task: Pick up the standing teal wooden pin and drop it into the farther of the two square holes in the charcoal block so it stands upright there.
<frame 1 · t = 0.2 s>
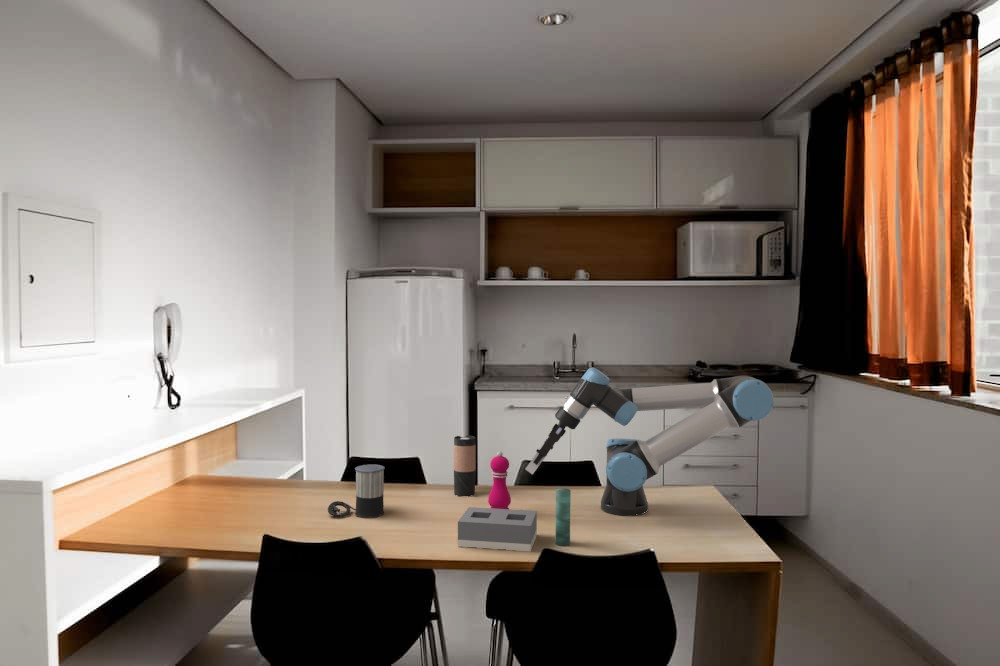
hand: (531, 467, 218), 16 cm above the table, tool tilted 35°, fingers open, 13 cm apart
milk frother: (356, 515, 220), on the table
pepper mill: (499, 514, 221), on the table
pin: (562, 543, 194), on the table
hole block: (498, 540, 196), on the table
travel mug: (464, 494, 245), on the table
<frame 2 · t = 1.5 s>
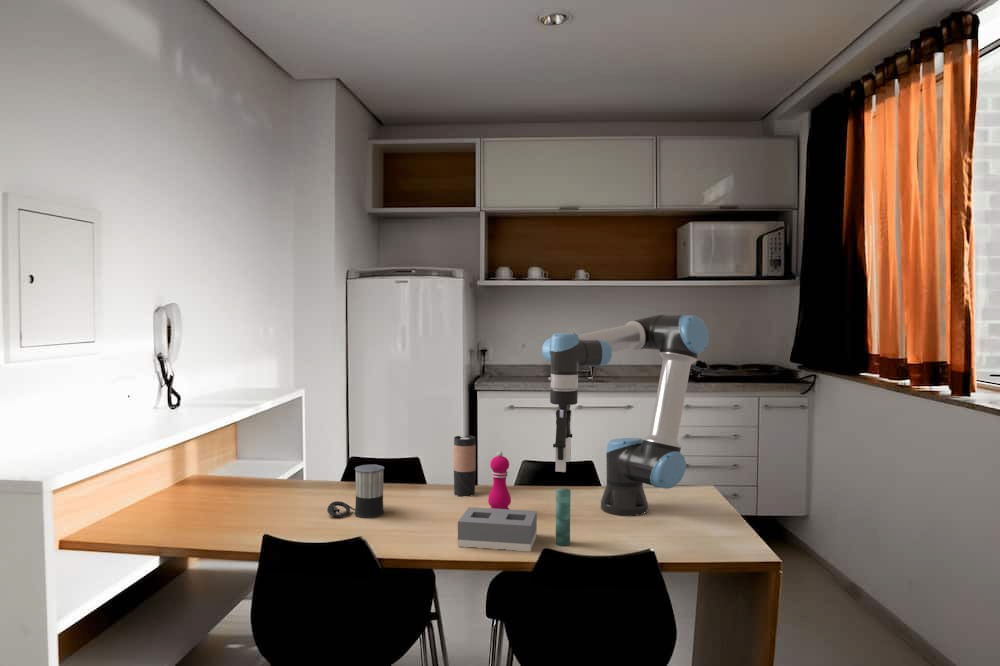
hand: (562, 466, 193), 22 cm above the table, tool pointing down, fingers open, 13 cm apart
nothing on the table moved.
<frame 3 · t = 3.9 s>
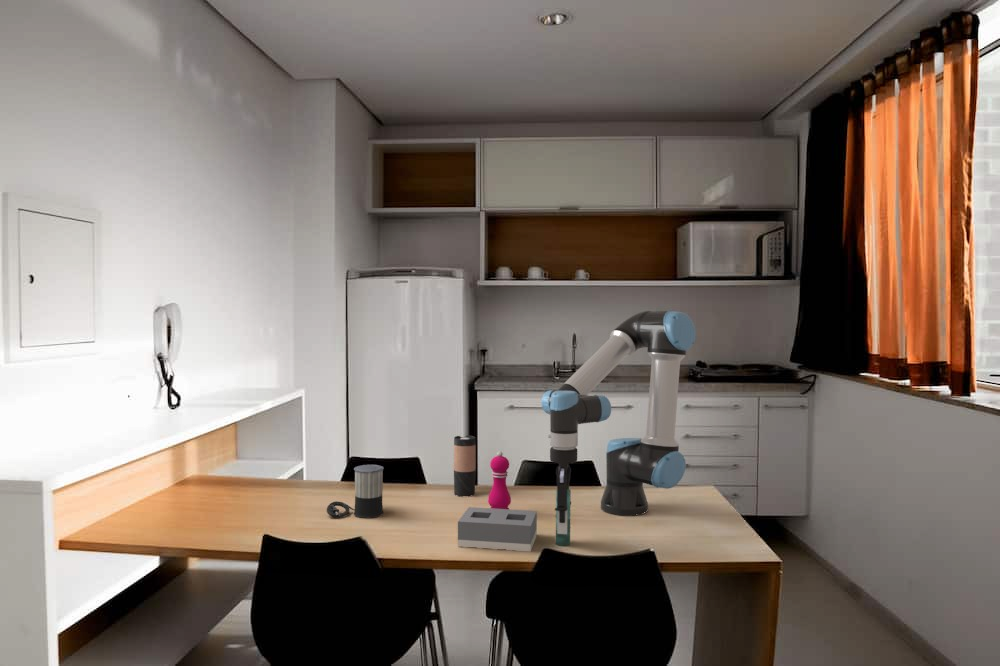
hand: (562, 530, 194), 4 cm above the table, tool pointing down, fingers closed on pin, 4 cm apart
pin: (562, 543, 194), on the table, touching gripper
everything else where it was.
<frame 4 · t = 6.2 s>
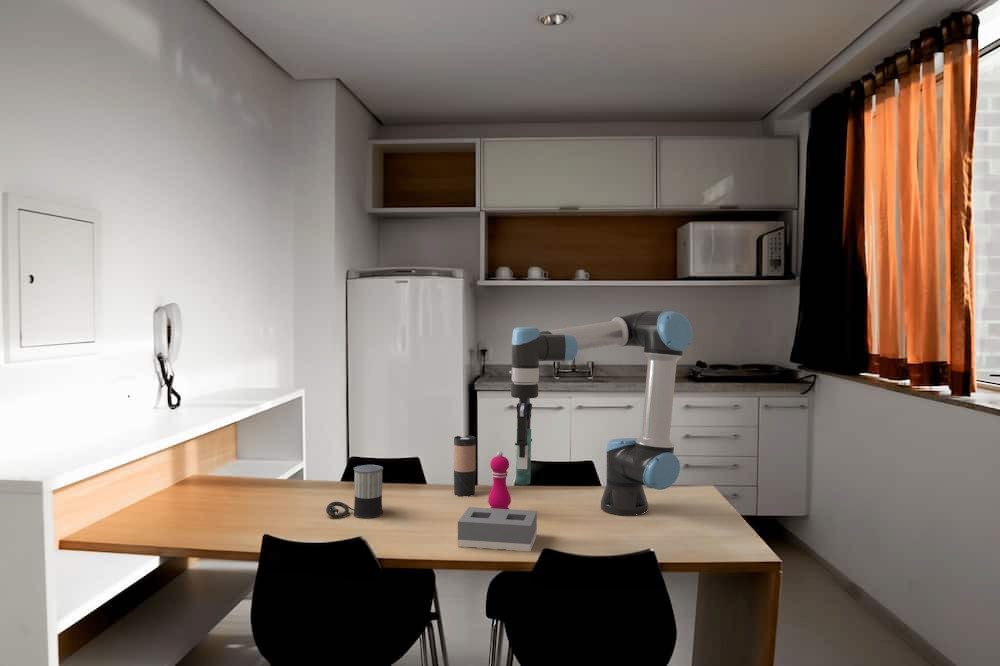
hand: (523, 466, 194), 21 cm above the table, tool pointing down, fingers closed on pin, 4 cm apart
pin: (523, 482, 194), point 17 cm above the table, touching gripper
everything else where it was.
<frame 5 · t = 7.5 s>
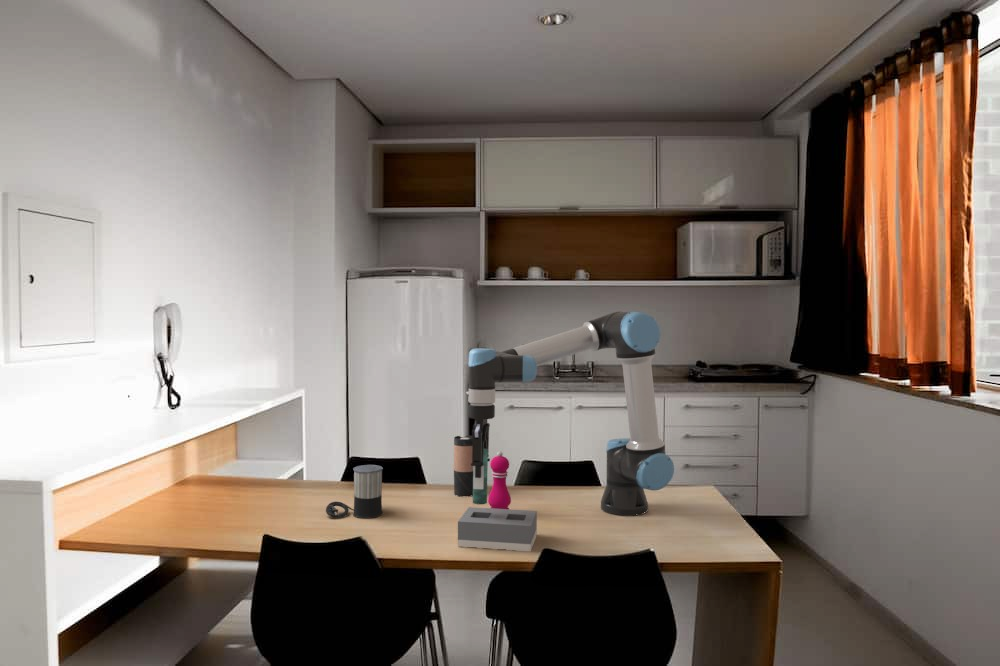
hand: (480, 486, 196), 15 cm above the table, tool pointing down, fingers closed on pin, 4 cm apart
pin: (479, 502, 196), point 11 cm above the table, touching gripper
everything else where it was.
when the fingers open (9 cm above the table, at t = 8.7 s): pin drops 2 cm, resting on hole block.
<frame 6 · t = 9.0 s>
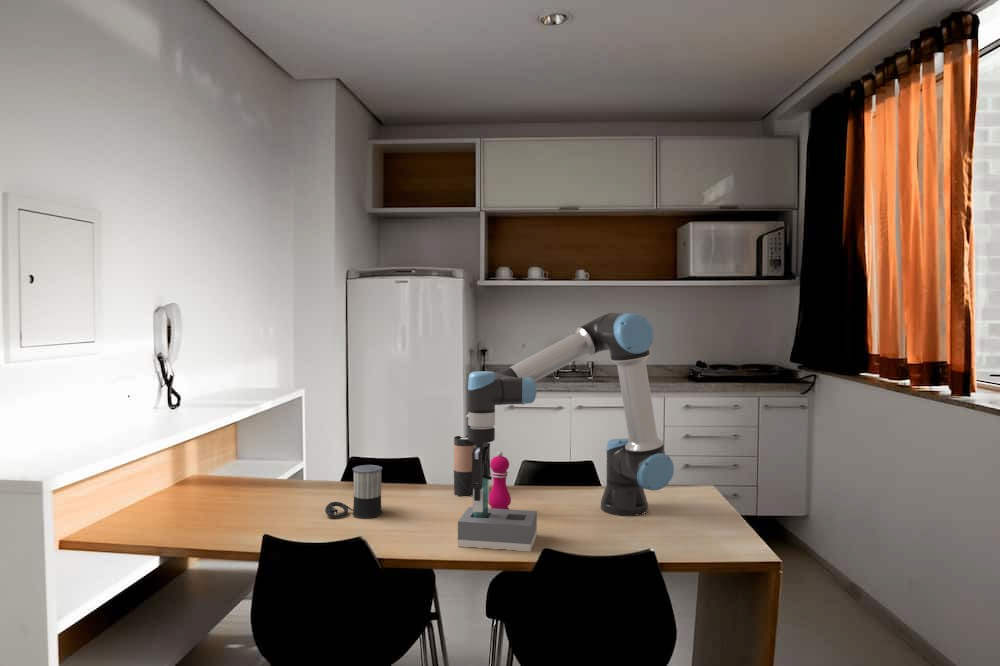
hand: (480, 507, 196), 9 cm above the table, tool pointing down, fingers open, 8 cm apart
pin: (480, 532, 197), point 2 cm above the table, touching hole block
everything else where it was.
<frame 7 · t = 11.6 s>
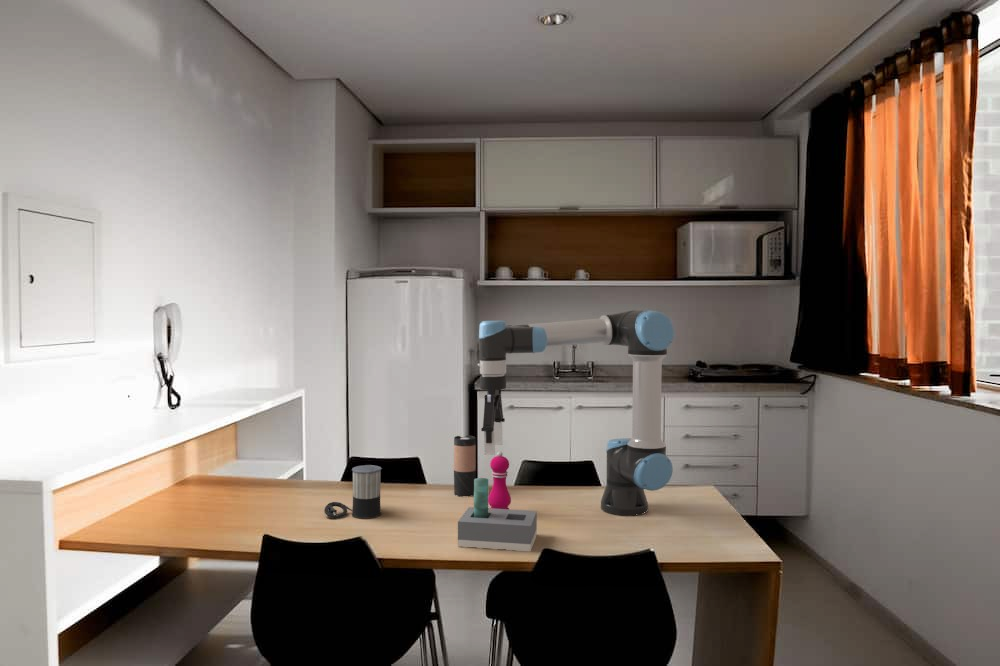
hand: (493, 449, 199), 25 cm above the table, tool pointing down, fingers open, 13 cm apart
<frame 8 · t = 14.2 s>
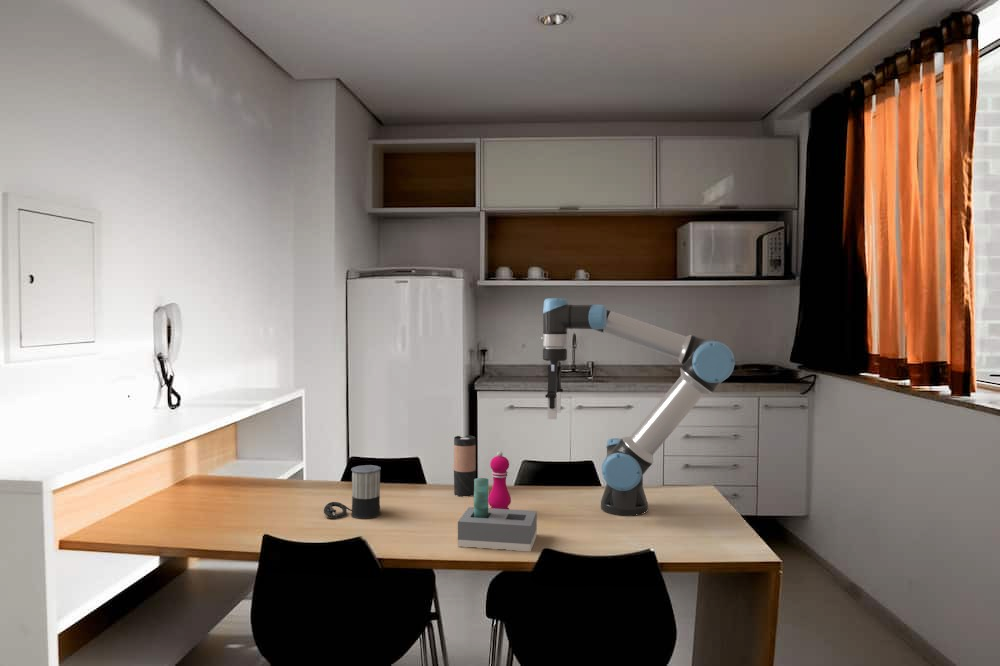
hand: (554, 415, 218), 32 cm above the table, tool pointing down, fingers open, 13 cm apart
at the end: pin 0.1 cm from the target spot on the hole block, point 2.0 cm above the hole block's base; pin tilted 0°; the gripper is holding nothing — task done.
